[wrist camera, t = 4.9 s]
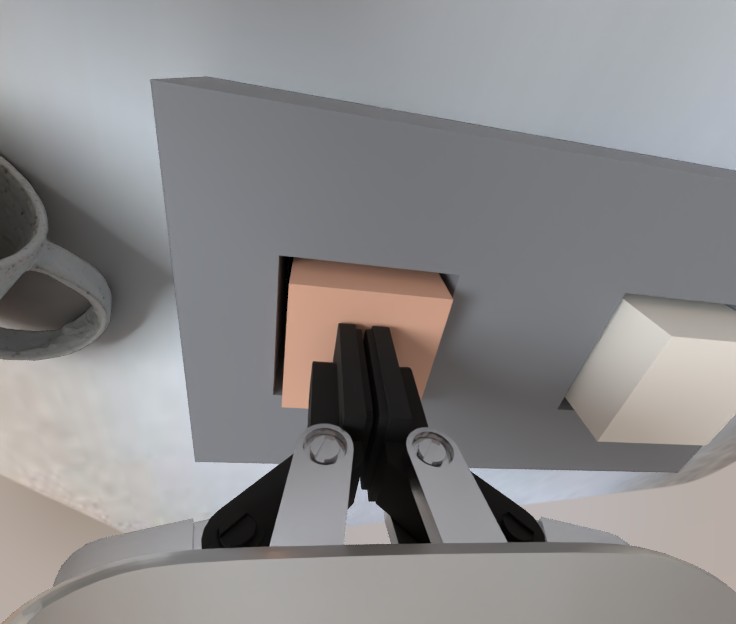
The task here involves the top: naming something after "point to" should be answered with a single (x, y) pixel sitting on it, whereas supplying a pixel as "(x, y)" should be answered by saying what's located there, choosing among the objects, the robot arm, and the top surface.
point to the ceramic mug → (35, 253)
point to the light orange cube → (360, 317)
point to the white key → (660, 373)
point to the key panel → (424, 260)
